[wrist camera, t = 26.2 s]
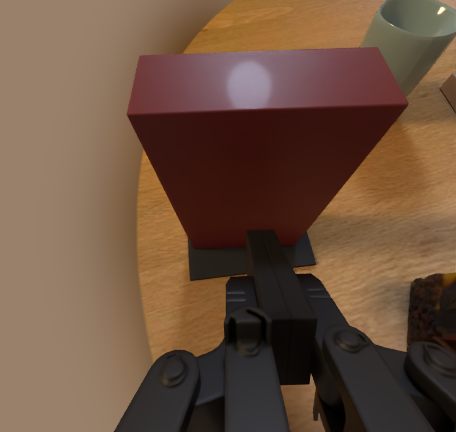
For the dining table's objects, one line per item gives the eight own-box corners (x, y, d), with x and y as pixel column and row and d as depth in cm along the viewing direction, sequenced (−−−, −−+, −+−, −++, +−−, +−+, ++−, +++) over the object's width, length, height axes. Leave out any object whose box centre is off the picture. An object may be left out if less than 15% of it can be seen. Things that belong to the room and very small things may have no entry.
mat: (315, 264, 22) (316, 263, 22) (190, 280, 21) (190, 280, 21) (272, 116, 30) (272, 114, 30) (182, 125, 30) (181, 124, 30)
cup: (375, 134, 29) (441, 47, 20) (324, 103, 31) (362, 14, 22) (406, 104, 31) (477, 14, 22) (356, 78, 34) (402, -13, 25)
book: (289, 213, 24) (378, 46, 10) (295, 245, 22) (410, 104, 8) (194, 217, 24) (138, 54, 9) (193, 249, 22) (124, 114, 8)
